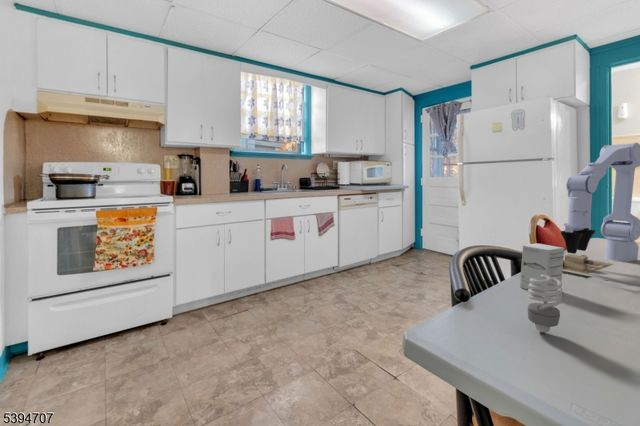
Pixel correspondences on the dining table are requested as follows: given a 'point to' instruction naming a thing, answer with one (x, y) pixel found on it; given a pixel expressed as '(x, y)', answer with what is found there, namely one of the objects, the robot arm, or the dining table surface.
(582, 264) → the marking gauge
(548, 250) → the supplement box
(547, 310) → the light bulb
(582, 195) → the robot arm
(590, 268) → the board
